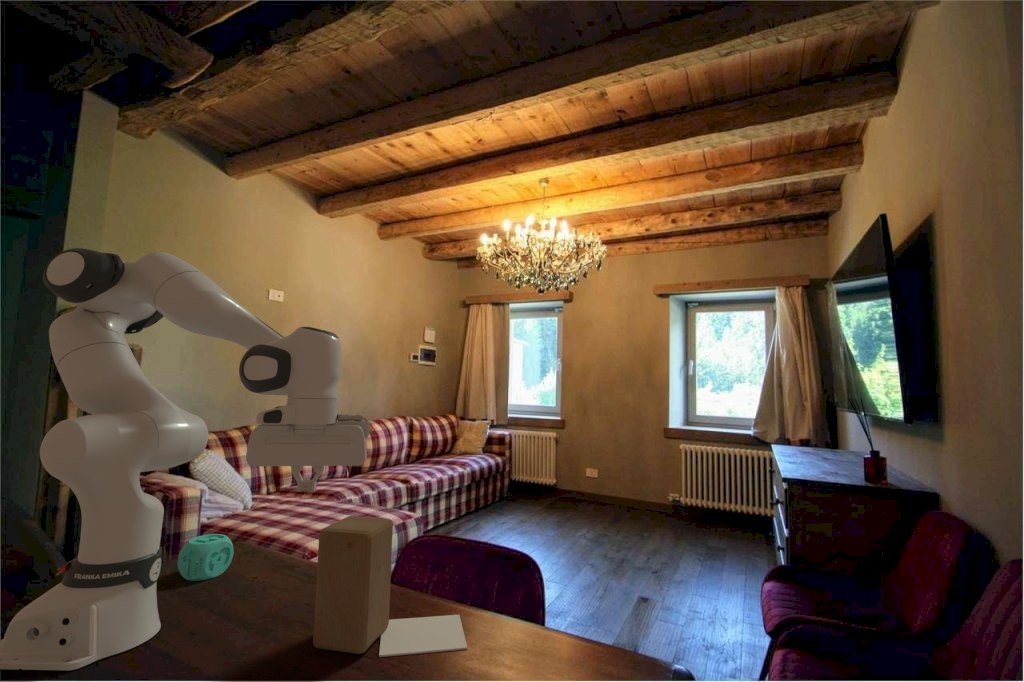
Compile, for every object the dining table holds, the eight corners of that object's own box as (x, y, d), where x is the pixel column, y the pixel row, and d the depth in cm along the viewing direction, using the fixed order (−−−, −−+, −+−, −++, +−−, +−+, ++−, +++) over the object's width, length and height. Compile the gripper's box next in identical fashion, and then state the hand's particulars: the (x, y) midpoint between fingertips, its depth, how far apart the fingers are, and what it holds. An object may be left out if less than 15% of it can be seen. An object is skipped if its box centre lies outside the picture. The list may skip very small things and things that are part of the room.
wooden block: (363, 657, 75) (368, 533, 78) (310, 649, 77) (317, 529, 80) (390, 627, 85) (395, 517, 87) (342, 621, 87) (348, 514, 89)
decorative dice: (174, 578, 104) (179, 541, 104) (206, 565, 111) (210, 532, 112) (201, 583, 101) (205, 546, 102) (232, 570, 109) (235, 536, 110)
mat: (378, 657, 76) (379, 655, 76) (382, 621, 88) (382, 620, 88) (467, 649, 79) (467, 647, 79) (459, 616, 91) (459, 614, 91)
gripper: (372, 414, 89) (367, 486, 87) (258, 412, 84) (251, 488, 83) (369, 415, 83) (364, 493, 81) (246, 413, 78) (238, 496, 77)
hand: (306, 491), depth 82 cm, fingers closed
